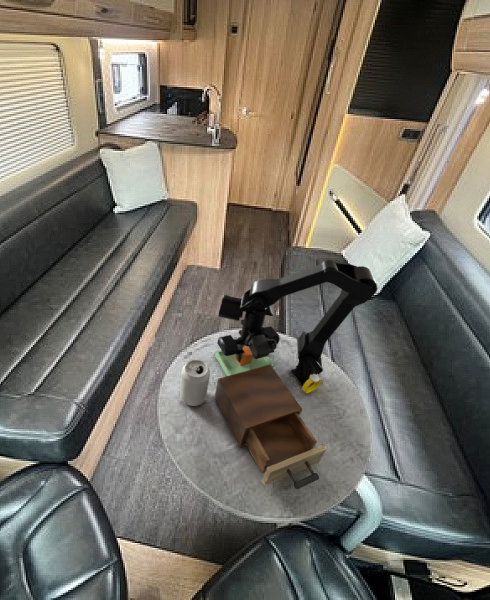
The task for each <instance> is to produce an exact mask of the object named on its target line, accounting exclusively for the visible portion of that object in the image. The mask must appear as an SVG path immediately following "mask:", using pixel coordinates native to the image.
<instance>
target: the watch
mask: <svg viewBox="0 0 490 600" xmlns="http://www.w3.org/2000/svg"><path fill="white" fill-rule="evenodd" d="M313 382H314V383H313ZM321 382H322V378H321V377H319V374H317V375H316V374H313V375H310V377H309V379H308V380H307V381H306V382H305V384H303V386H302V391H303V392H304V393H305V394H309V393H311V392H313V391H315V390H316V389H318V387H319V386H320V384H321Z"/></svg>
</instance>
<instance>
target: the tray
mask: <svg viewBox="0 0 490 600" xmlns="http://www.w3.org/2000/svg"><path fill="white" fill-rule="evenodd" d="M248 347H249V346H248ZM214 356H215V358H216V360H217V363H218V364H219V365H220V367H221V369H222V370H223V372H224V374H225V375H226V376H230V375H233V374H237V373H241V372H244V371H248V370H252V369H256V368H259V367H263V366H267V365H271V366H272V368H273V369H274V368H275V365H274V363H273V362H272V361H271V359H270V358H269V356H267V357H263V358H259V359H255V358H254V357H253V358H252V362H251V363H249V364H245V365H241V366H240V364H239V363H238V361H237V360H236V358H235V354H234V355H230V356H225V355H224V353H223V352H222V350H221V349H220V350H216V351H215V355H214Z"/></svg>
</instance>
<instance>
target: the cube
mask: <svg viewBox="0 0 490 600" xmlns="http://www.w3.org/2000/svg"><path fill="white" fill-rule="evenodd" d="M243 350H244V352H245V353H242V357H241V360H240V362H238V363H239V364H240V366H241V365H245V364H249V363H251V362H252V358H253V355H252V352H251V350H250V348H249V347H248V346H247V347H246V346H244V347H243ZM235 358H236V354H235ZM236 360H237V358H236ZM237 361H238V360H237Z"/></svg>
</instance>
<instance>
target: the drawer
mask: <svg viewBox="0 0 490 600" xmlns="http://www.w3.org/2000/svg"><path fill="white" fill-rule="evenodd" d="M244 441H245V443H246V445H245V446H246V447H247V449H248V451H249V453H250V454H251V457H252V459H253V461H254V463H255V464H256V466H257V468H258V470H259V471H260V473H261V474H264V475H263V476H262V479H261V483H262V485H263V486H264V487H266V486H268V485H271V484H273V483H275V482H278V481H281V480H282V479H285V478H287V477H289V478H290V479H291V481H292V485H293V488H294V489H295V490H300V489H301V488H304V487H306V486H308V485H310V484H312V483H314V482H317V481H318V480H320V475H319V474H318V473H317V472H315V471H314V469H313V466H315V465H317V464H319V462H320V461H321V459H322V457H323V456H324V454H325V453H326V451H327V447H326V446H325V444H321V445H319V446H316V444H317V442H318V439H316V437H315V436H314V434H313V433H312V431H311V430H310V429H309V427H308V425H306V423H305V422H304V420H303V419H302V417H301V415H300V416H299V415H298V413H294V414H291V415H288V416H285V417H282V418H279V419H277V420H274V421H271V422H268V423H265V424H262V425H259V426H256V427H254V428H251V429H248V430H247V433H246V437H245V440H244ZM315 446H316V447H315ZM306 469H308V471H309V473H310V474H309V475H307V476H305V477H303V478H301V479H297V478H296V477H295V476H294V474H296V473H299V472H301V471H303V470H306ZM296 479H297V480H296Z"/></svg>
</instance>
